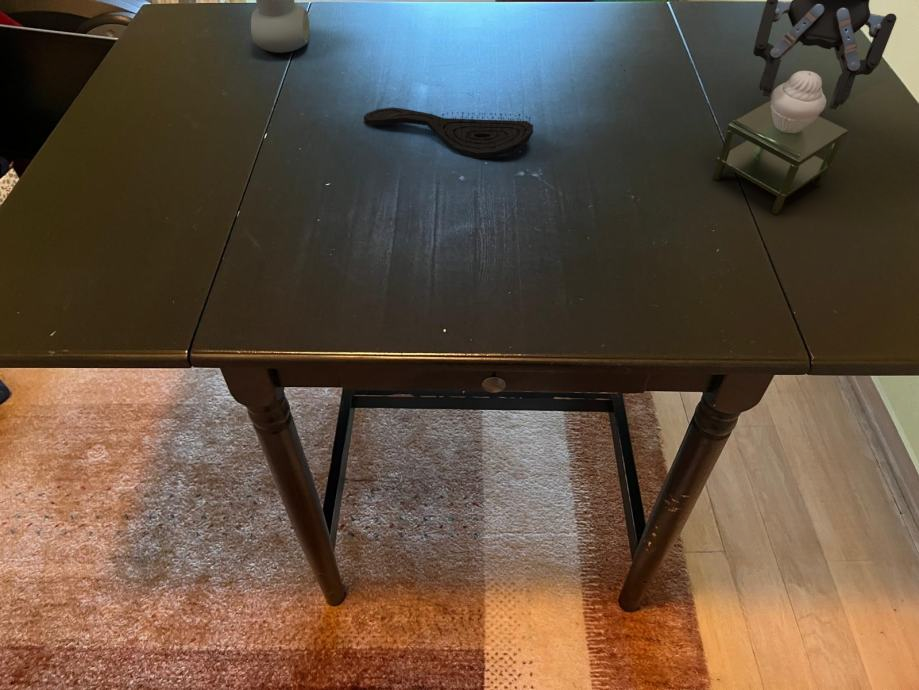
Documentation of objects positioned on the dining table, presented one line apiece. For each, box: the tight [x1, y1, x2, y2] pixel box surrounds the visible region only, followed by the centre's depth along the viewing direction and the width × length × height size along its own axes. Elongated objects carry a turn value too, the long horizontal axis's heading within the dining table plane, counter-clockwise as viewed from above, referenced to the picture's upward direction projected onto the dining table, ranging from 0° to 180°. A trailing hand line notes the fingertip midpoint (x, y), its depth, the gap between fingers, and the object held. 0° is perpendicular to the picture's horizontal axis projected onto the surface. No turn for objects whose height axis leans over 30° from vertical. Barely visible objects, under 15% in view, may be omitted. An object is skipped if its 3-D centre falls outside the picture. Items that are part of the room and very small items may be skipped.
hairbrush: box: [363, 106, 535, 159], centre depth 96 cm, size 8×4×25 cm
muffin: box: [770, 70, 827, 134], centre depth 81 cm, size 6×6×7 cm
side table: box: [712, 100, 849, 216], centre depth 86 cm, size 10×10×9 cm
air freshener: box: [250, 0, 310, 54], centre depth 111 cm, size 11×8×10 cm
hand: (800, 100), depth 79 cm, fingers open, 7 cm apart
